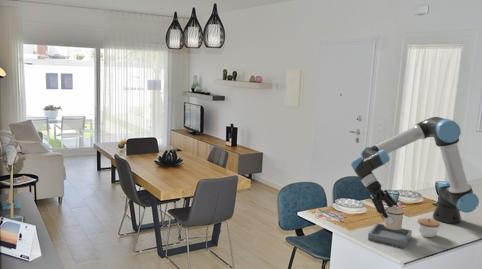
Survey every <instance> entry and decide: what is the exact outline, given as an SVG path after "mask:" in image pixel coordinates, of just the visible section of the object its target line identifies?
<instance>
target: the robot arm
mask: <svg viewBox="0 0 482 269" xmlns="http://www.w3.org/2000/svg"><path fill="white" fill-rule="evenodd" d="M461 132H462V131H461V127H460V125H459V124H458V123H457V122H456V121H454V120H452V119H449V118H443V117H439V116H432V117H429V118H427V119H424V120H422V121H419V122H418V123H415V124H414V126H413V127H411V128H408V129H407V130H405V131H402V132H400V133H398V134H396V135H394V136H392V137H390V138H388V139H386V140H383V141H381V142H379V143H377V144H374V145H372V146H370V147H369V146H364V147H363V148H362V149H361V150H360V156H359V157H357V158H355V159H354V160H353V161H352V162H351V164H350V165H351V167H352V169H353V170H354V172H355V174H356V175H357V176H358V178H359V180H360V181H361V183H362V184H363V186H364V187H365V189H366V191H367V192H368V193H369V194H370V195H369V199H371V202H372V204H373V205H374V207H375V209H376V212H377V213H379V214H381V213H382V215H383V217H384V218H385V219H386V220H387V222H388V223H389V225H390V224H391V223H393V222H394V221H393V219H392V218H391V216H390V215H389V213H388V212H387V211H385V209H386V208H385V206H384V203H385V204H386V205H388V206H389V207H393V205H396V206H397V207H398V202H396V201H395V199H394V198H393V197H392V196H391V195H390V194H389V192H388V191H387V190H386V189H384V190H383V189H382V184H381V183H380V182H379V180H378V178H377V177H376V175H375V174H374V172H373V171H375V170H377V169H378V168H380V167H382V166H384V165H386V164H388V163H389V162H390V156H389V154H390V153H392V152H395V151H397V150H399V149H402V148H403V147H405V146H408V145H410V144H412V143H414V142H416V141H419V140H426V139H428V138H433V139H434V143H435V146H436V147H438V148H439V150H440V153H441V157H442V160H443V163H444V168H445V171H446V175H447V179H448V180H447V181H446V180H444V181H440V182H439V185H438V195H437V202H436V204H437V205H436V207H435V209H434V211H433V214H432V218H433V220H436V221H438V222H439V223H440V222H441V223H445V224H451V225H452V224H460V223H461V221H462V216H461V213H466V214H469V213H472V212H474V211H475V210H476V209H477V207H478V206H479V203H480V199H479V197H478V195H477V194H476V193H474V190H473V188H472V185H471V184H470V183H468V181H467V177H466V173H465V170H464V165H463V163H462V162H463V161H462V158H461V155H460V150H459V147H458V143H460V136H461ZM383 202H384V203H383Z"/></svg>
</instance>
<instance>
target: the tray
mask: <svg viewBox="0 0 482 269" xmlns="http://www.w3.org/2000/svg"><path fill="white" fill-rule="evenodd" d="M412 233H413V231H412V229H408V228H403V227H402V228H401V229H400V230H392V229H388V228H386V227H385V226H384V223H379V222H377V223H375V225H374V226H373V227H372V228H371V230H370V231H369V232H368V237H367V240H368V241H372V242H376V243H380V244H383V243H384V245H388V246H392V245H393V246H392V247H396V246H398V248H400V247H402V248H401V249H404V248H406V247H407V245H408V243H409V241H410V239H411V238H412Z"/></svg>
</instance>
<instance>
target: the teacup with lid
mask: <svg viewBox="0 0 482 269" xmlns="http://www.w3.org/2000/svg"><path fill="white" fill-rule="evenodd" d="M385 211H387V212H388V213H389V215H390V216H391V218H392V219H393V221H394V222H393V223H391V224H390V225H389V223H388V222H387V220H386V219H385V217H384V216H383V214H382V213H381V214H380V213H379V214H380V218H381V219H382V220H384V221H383V224H384V226H385V227H386V228H388V229H392V230H400V229H401V228H403V227H402V226H403V219H404V213H405V212H404V210H403V209H401V208H399V207H398V206H396V205H393V207H390V206H389V207H386V208H385Z"/></svg>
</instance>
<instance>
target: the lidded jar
mask: <svg viewBox="0 0 482 269" xmlns="http://www.w3.org/2000/svg"><path fill="white" fill-rule="evenodd" d="M440 225H441V223H440V221H437V220H435V219H434V218H433V219H431V218H427V217H426V218H425V217H422V218H418V219H417V230H418V232H419V233H420V235H421V236H422V237H425V238H427V237H432V238H434V237H435V236H437V234H438V233H439V230H440V227H441V226H440Z"/></svg>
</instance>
